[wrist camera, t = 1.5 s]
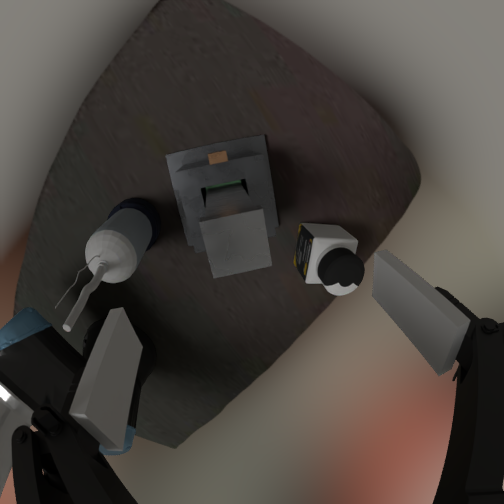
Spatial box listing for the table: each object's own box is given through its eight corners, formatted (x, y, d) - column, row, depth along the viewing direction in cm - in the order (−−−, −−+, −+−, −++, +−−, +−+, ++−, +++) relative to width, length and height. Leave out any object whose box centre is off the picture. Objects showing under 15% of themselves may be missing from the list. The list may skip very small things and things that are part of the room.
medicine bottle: (299, 222, 44) (328, 252, 33) (339, 224, 45) (376, 253, 34) (292, 263, 46) (316, 302, 35) (331, 263, 48) (362, 300, 37)
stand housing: (188, 244, 42) (183, 272, 34) (166, 154, 37) (153, 160, 28) (277, 225, 43) (294, 248, 35) (263, 134, 38) (278, 134, 29)
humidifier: (125, 256, 42) (64, 369, 19) (103, 210, 38) (10, 296, 16) (169, 237, 42) (132, 353, 19) (147, 189, 38) (72, 263, 16)
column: (211, 208, 41) (213, 278, 21) (205, 178, 39) (199, 222, 20) (242, 202, 41) (272, 265, 22) (236, 172, 39) (262, 208, 20)
